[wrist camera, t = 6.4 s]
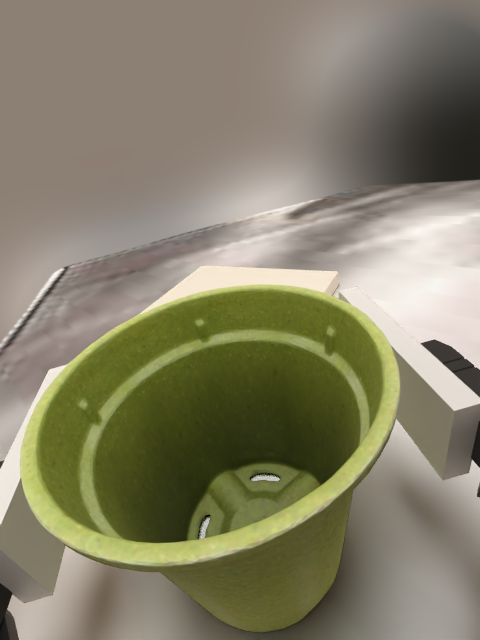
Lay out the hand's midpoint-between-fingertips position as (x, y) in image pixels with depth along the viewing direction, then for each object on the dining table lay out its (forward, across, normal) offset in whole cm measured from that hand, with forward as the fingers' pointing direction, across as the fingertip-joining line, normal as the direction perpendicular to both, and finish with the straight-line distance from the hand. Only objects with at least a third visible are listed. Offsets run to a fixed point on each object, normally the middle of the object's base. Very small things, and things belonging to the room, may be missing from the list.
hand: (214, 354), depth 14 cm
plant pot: (-4, 0, -6) cm, 7 cm away
